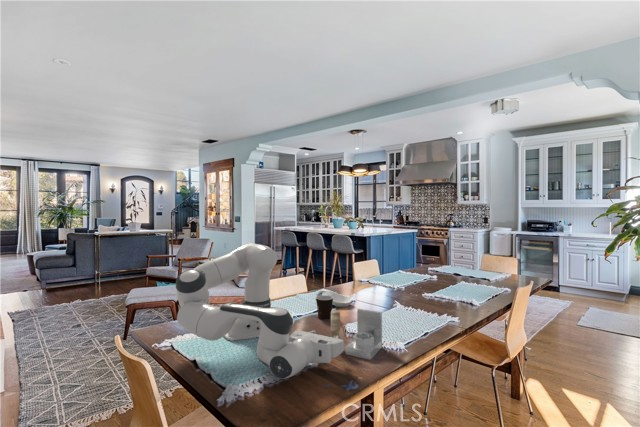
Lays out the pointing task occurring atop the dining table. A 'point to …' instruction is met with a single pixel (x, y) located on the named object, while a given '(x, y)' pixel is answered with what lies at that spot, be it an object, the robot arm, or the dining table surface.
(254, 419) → the dining table surface
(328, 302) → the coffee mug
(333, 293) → the spoon rest
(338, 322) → the beige banded cylinder
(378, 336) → the cup bracket
